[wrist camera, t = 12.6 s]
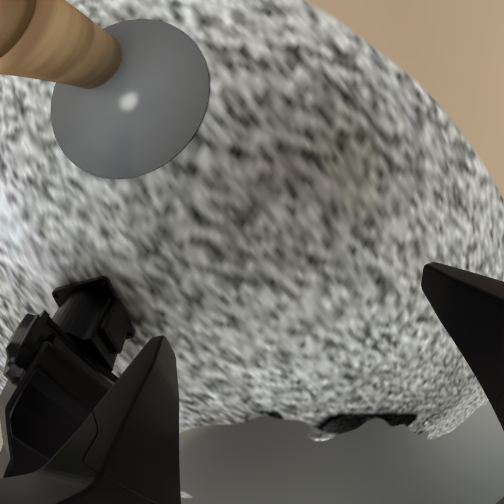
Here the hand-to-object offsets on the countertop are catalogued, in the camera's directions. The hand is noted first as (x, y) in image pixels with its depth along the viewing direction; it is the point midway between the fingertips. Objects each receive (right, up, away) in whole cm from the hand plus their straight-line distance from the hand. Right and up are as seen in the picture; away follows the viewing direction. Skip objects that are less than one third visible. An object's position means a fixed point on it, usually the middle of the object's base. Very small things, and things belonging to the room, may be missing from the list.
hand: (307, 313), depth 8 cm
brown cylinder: (-13, +15, +5) cm, 20 cm away
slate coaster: (-11, +13, +7) cm, 18 cm away
